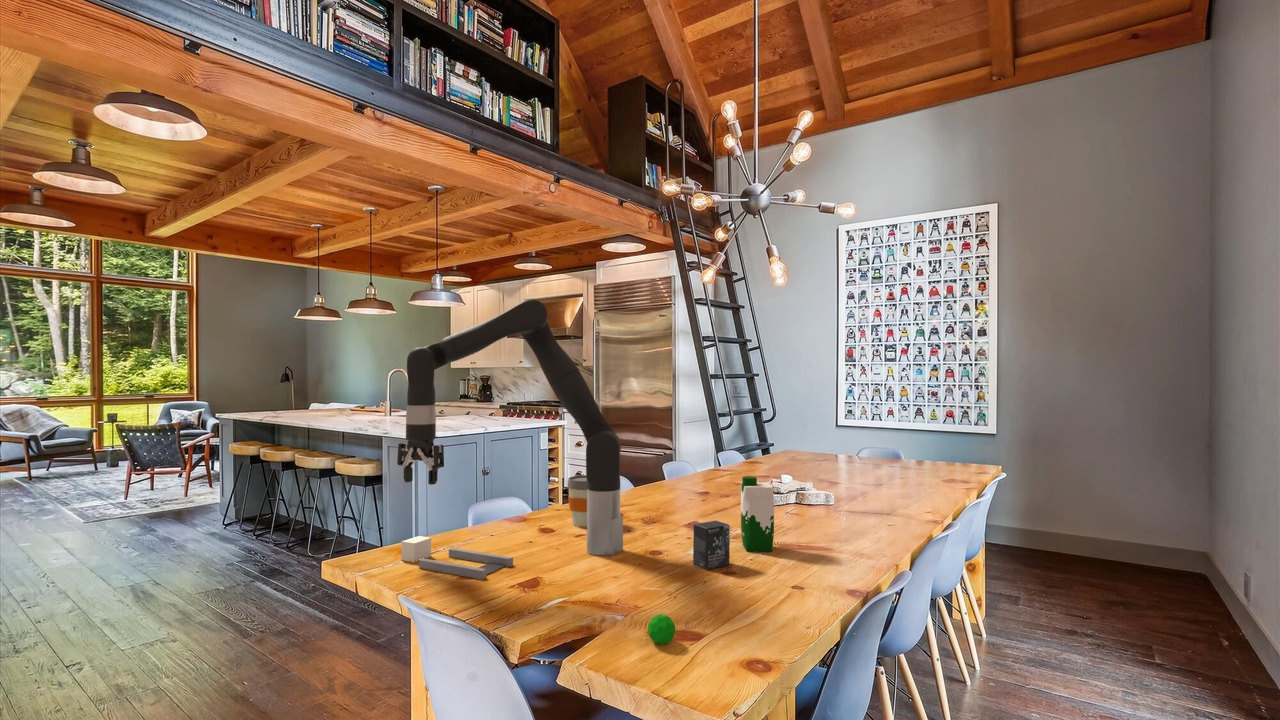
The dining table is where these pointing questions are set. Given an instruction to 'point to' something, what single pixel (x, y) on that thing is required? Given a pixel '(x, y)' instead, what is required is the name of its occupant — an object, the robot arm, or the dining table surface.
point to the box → (711, 545)
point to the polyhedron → (661, 629)
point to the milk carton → (757, 515)
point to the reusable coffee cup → (578, 499)
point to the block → (416, 548)
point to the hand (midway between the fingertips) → (420, 483)
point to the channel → (479, 573)
